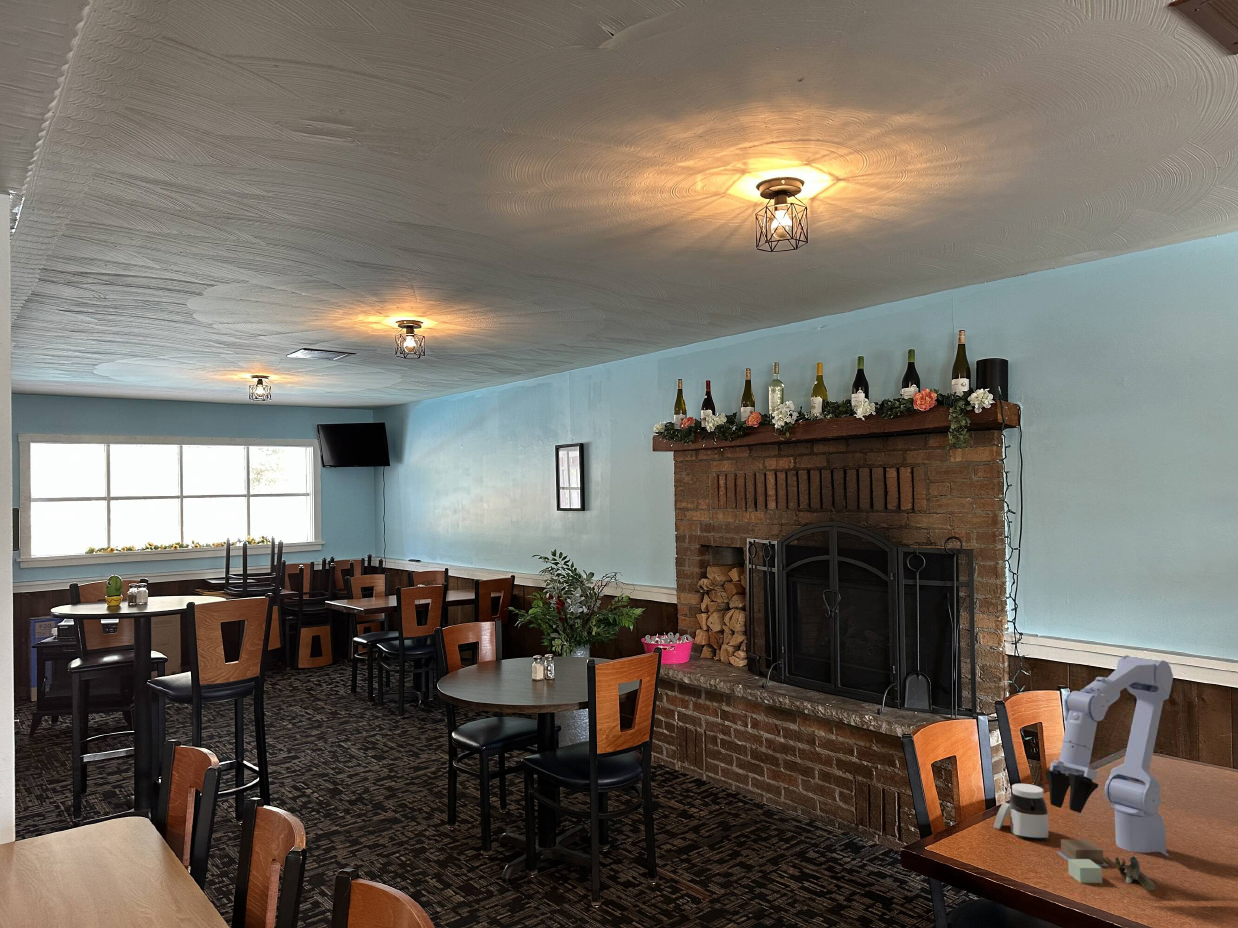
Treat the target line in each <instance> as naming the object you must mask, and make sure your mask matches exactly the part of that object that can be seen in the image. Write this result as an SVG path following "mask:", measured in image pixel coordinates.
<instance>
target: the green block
mask: <svg viewBox="0 0 1238 928" xmlns="http://www.w3.org/2000/svg"><path fill="white" fill-rule="evenodd" d="M1067 865H1068V866H1067V867H1068V874H1069V875H1070V876H1071V877H1072V878H1073V879H1075V880H1076V881H1077V882H1079V883H1080V884H1092V883H1093V884H1096V883H1097V884H1103V872H1102V871H1103V870H1102V868H1103V867H1102V866H1098V865H1097V864H1095V863H1094V862H1093V861H1091V860H1090V859H1068V861H1067Z"/></svg>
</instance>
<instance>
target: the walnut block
mask: <svg viewBox="0 0 1238 928" xmlns="http://www.w3.org/2000/svg"><path fill="white" fill-rule="evenodd" d="M1060 849H1061V850H1060V852H1061V853H1062V854H1063V855H1064V856H1066V857H1067V858H1068V859H1090V860H1091V861H1093V862H1094V863H1095V864H1103V862H1104V849H1103V848H1100V847H1099V846H1097V845H1096V844H1095V843H1094V842H1092V841H1090V840H1089V839H1080V838H1079V839H1073V838H1072V839H1070V838H1069V839H1064V838H1063V839H1060Z"/></svg>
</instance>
